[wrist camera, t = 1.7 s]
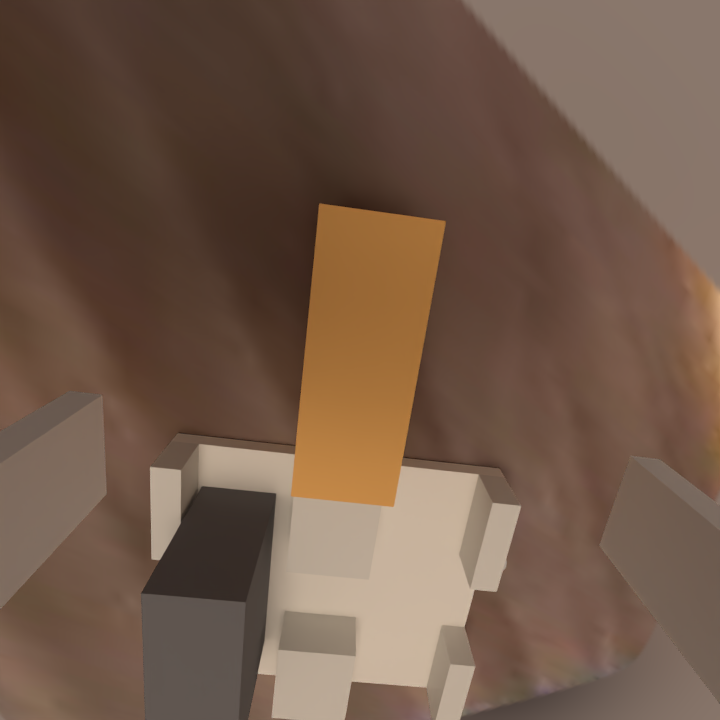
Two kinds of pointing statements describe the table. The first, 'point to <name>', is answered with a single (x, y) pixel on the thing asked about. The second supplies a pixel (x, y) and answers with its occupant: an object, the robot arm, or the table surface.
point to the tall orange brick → (363, 351)
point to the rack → (356, 571)
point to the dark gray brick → (209, 609)
